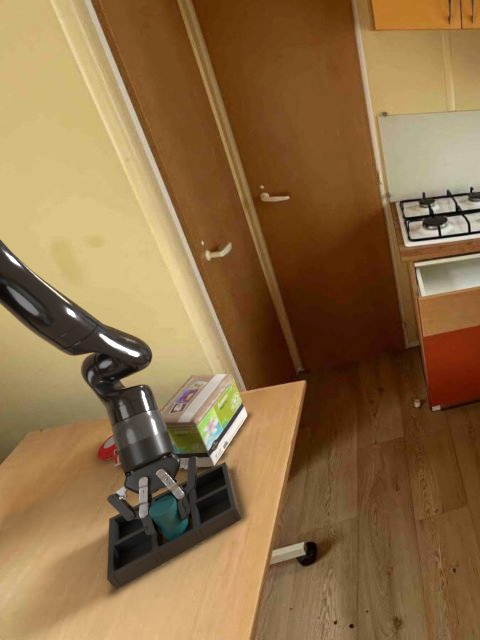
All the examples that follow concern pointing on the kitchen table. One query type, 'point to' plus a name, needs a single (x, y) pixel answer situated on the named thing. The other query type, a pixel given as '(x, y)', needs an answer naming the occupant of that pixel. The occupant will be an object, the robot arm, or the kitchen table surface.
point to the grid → (149, 552)
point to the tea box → (204, 417)
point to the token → (168, 517)
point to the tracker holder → (109, 451)
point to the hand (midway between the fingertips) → (171, 526)
